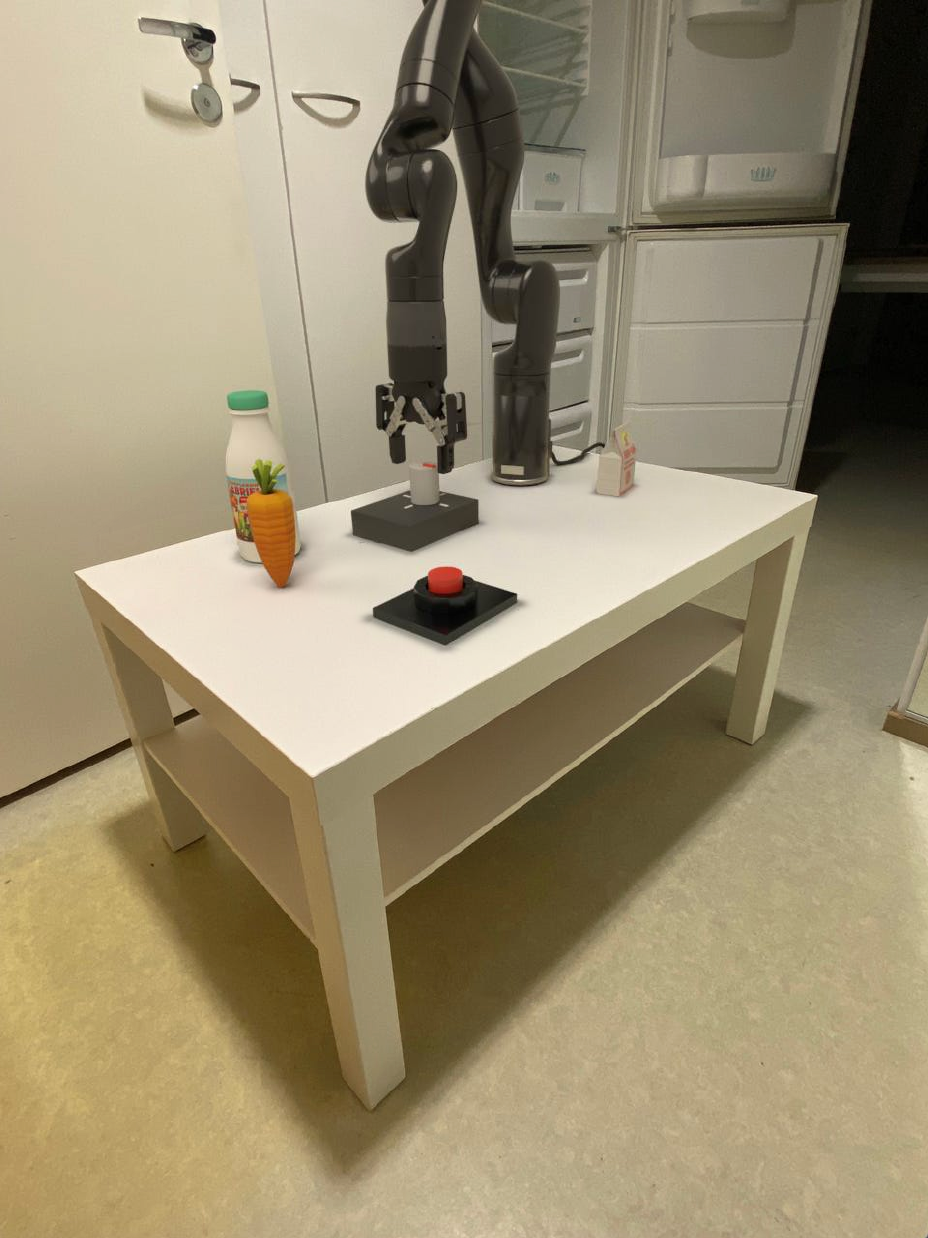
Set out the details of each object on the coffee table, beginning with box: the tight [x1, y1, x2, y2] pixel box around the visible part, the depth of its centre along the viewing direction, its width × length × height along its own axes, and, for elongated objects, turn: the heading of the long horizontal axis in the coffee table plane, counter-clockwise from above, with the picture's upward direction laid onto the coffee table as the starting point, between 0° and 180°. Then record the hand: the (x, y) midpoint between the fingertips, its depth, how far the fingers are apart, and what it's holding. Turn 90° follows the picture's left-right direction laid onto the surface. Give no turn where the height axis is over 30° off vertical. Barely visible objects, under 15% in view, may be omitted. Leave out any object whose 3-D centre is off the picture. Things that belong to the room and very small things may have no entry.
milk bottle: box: [225, 389, 301, 564], centre depth 86 cm, size 8×8×20 cm
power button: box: [427, 566, 464, 594], centre depth 73 cm, size 4×4×2 cm
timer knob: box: [408, 461, 440, 505], centre depth 96 cm, size 4×4×5 cm
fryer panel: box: [350, 489, 480, 553], centre depth 97 cm, size 14×11×4 cm
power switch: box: [372, 574, 518, 646], centre depth 74 cm, size 12×10×3 cm
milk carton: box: [596, 422, 638, 497], centre depth 111 cm, size 4×7×10 cm, turn 149°
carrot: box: [246, 459, 296, 589], centre depth 77 cm, size 5×5×15 cm
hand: (421, 467), depth 95 cm, fingers open, 8 cm apart
